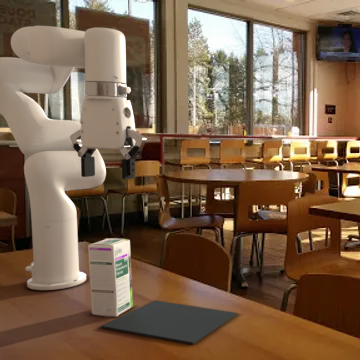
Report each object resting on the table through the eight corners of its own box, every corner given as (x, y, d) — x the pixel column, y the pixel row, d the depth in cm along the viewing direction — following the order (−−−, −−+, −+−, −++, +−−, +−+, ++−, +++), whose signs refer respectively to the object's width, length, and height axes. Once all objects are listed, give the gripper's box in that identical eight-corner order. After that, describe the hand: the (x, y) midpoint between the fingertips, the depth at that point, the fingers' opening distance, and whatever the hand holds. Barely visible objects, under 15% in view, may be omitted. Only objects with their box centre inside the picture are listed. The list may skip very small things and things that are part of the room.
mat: (101, 327, 92) (101, 325, 92) (154, 302, 106) (154, 300, 106) (192, 344, 85) (192, 342, 85) (236, 314, 99) (236, 312, 99)
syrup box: (116, 317, 97) (114, 244, 96) (90, 315, 98) (87, 243, 97) (133, 307, 103) (131, 238, 101) (108, 305, 104) (105, 237, 102)
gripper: (155, 94, 100) (156, 178, 102) (83, 93, 105) (86, 173, 107) (131, 91, 93) (133, 181, 95) (56, 91, 98) (59, 177, 99)
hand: (108, 177), depth 101 cm, fingers open, 9 cm apart
